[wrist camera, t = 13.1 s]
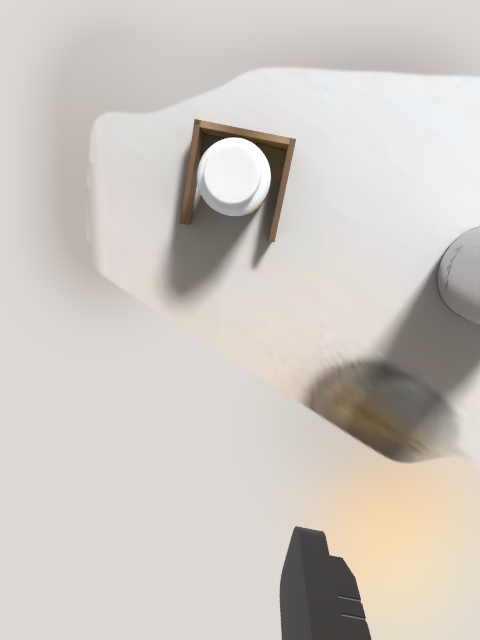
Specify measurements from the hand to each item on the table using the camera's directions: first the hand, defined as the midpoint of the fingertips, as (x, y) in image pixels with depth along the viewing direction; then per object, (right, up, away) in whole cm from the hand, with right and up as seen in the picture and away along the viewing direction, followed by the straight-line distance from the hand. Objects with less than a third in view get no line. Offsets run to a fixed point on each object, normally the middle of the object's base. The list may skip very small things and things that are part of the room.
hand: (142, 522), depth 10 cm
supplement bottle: (+3, +18, +26) cm, 32 cm away
